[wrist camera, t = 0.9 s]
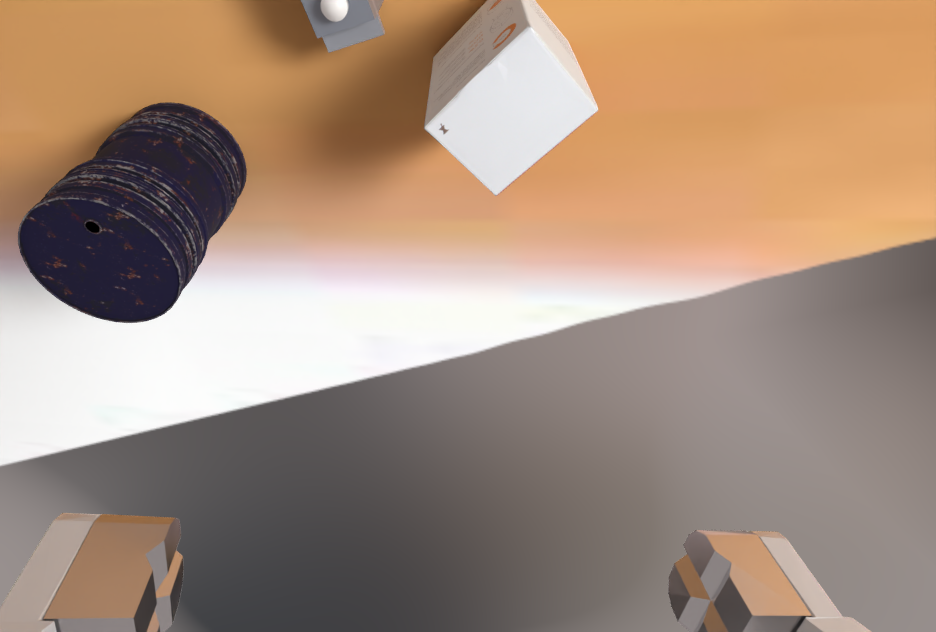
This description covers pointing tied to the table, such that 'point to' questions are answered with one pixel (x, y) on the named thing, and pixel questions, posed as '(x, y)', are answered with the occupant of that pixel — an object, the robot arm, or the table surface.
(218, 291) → the table surface
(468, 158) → the small box
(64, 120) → the table surface
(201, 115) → the dark ribbed barrel
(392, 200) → the table surface
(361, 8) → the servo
